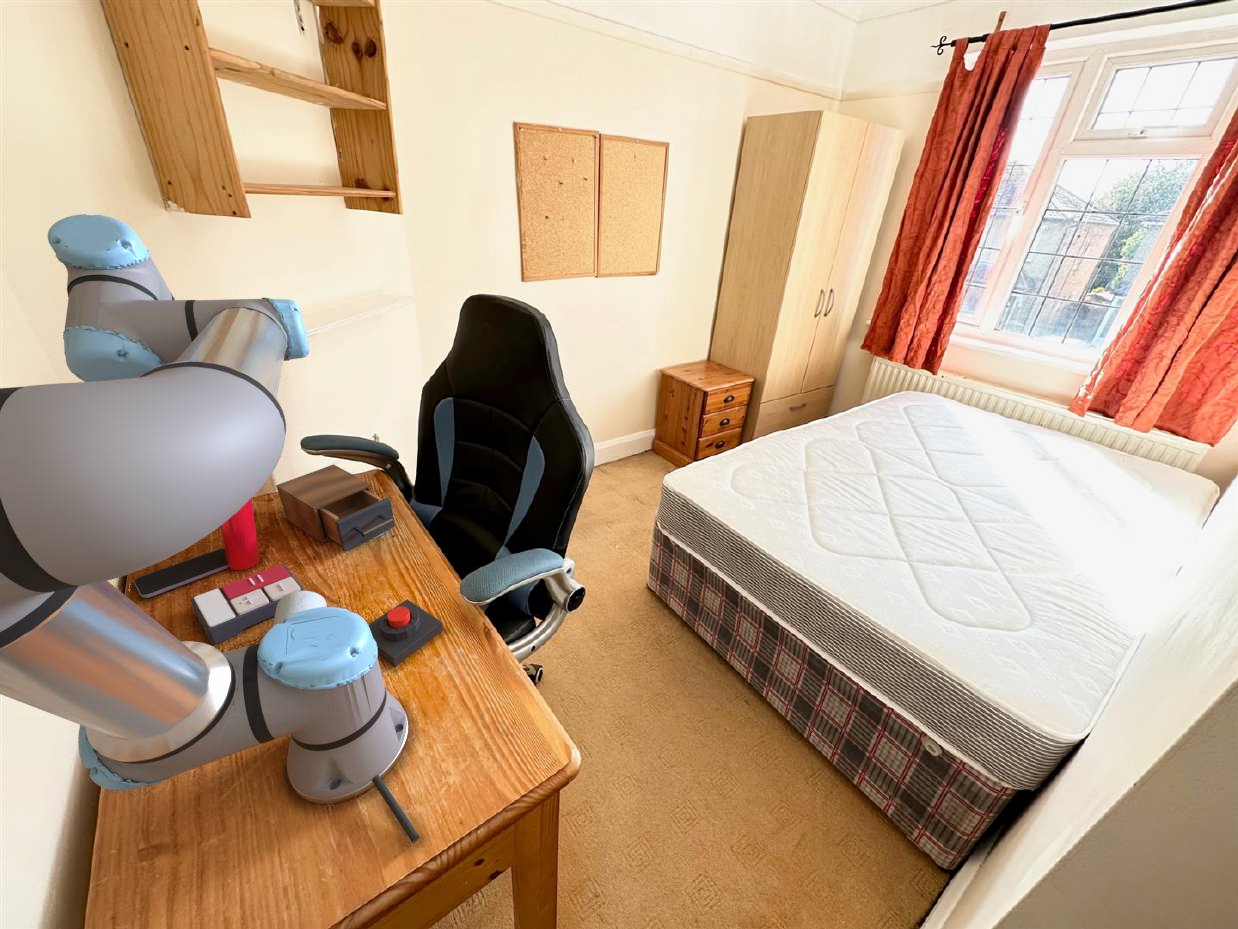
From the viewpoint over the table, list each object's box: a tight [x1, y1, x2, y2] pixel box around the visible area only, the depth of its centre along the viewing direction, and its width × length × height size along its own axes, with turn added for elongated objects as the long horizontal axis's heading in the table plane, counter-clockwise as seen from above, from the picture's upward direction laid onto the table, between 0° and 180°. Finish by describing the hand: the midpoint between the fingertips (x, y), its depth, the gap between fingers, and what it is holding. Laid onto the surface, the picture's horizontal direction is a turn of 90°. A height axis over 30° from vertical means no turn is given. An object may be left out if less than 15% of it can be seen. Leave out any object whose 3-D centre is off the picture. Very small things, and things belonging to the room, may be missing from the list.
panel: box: [368, 598, 444, 668], centre depth 87 cm, size 10×10×4 cm
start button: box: [387, 606, 410, 628], centre depth 86 cm, size 4×4×2 cm
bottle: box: [220, 498, 261, 571], centre depth 97 cm, size 5×5×20 cm
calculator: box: [190, 564, 305, 646], centre depth 90 cm, size 11×4×15 cm
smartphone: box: [133, 547, 230, 599], centre depth 98 cm, size 7×1×15 cm
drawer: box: [317, 489, 396, 553], centre depth 111 cm, size 19×12×8 cm, turn 58°
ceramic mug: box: [272, 590, 328, 627], centre depth 85 cm, size 11×8×8 cm
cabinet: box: [275, 463, 373, 544], centre depth 116 cm, size 16×14×10 cm
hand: (210, 412), depth 83 cm, fingers open, 13 cm apart
